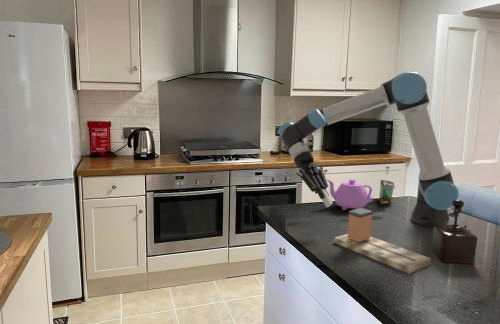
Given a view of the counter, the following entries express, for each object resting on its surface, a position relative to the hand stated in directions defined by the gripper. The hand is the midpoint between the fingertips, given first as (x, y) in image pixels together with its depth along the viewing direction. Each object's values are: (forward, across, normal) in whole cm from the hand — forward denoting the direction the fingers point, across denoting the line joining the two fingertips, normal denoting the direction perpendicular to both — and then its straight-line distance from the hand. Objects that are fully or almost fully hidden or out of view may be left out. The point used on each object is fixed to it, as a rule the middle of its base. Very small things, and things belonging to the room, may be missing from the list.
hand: (329, 205), depth 154 cm
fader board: (+24, -1, +8) cm, 26 cm away
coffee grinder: (+35, -20, +18) cm, 44 cm away
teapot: (-5, -34, -21) cm, 40 cm away
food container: (-2, -58, -18) cm, 60 cm away
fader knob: (+16, -1, +4) cm, 17 cm away
